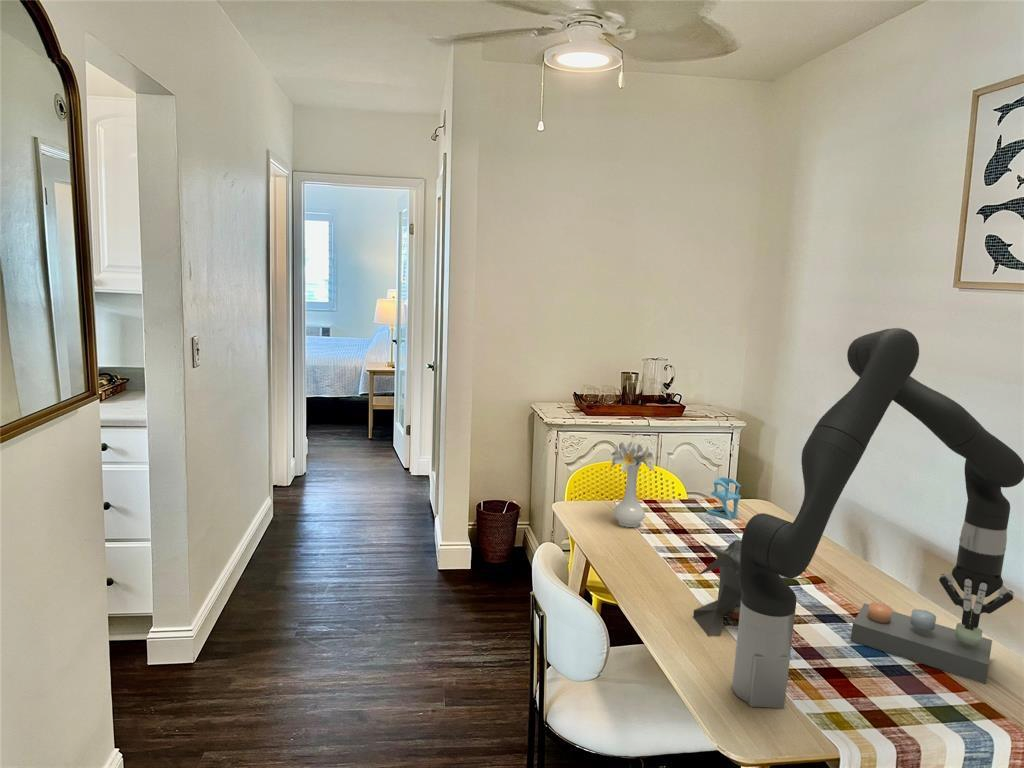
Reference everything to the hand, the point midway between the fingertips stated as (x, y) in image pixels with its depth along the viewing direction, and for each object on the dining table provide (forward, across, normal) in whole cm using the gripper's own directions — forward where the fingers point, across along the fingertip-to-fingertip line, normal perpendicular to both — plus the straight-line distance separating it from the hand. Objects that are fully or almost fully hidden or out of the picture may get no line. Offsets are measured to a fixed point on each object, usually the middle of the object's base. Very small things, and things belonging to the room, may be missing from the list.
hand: (969, 627), depth 141 cm
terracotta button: (+3, +16, 0) cm, 16 cm away
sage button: (+2, 0, 0) cm, 2 cm away
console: (+8, +8, 0) cm, 11 cm away
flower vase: (+8, +89, -24) cm, 92 cm away
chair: (+8, +69, -53) cm, 87 cm away
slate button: (+2, +8, 0) cm, 8 cm away
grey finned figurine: (+8, +44, +14) cm, 47 cm away
